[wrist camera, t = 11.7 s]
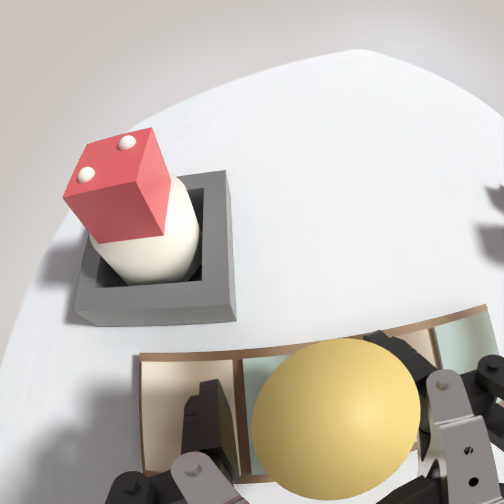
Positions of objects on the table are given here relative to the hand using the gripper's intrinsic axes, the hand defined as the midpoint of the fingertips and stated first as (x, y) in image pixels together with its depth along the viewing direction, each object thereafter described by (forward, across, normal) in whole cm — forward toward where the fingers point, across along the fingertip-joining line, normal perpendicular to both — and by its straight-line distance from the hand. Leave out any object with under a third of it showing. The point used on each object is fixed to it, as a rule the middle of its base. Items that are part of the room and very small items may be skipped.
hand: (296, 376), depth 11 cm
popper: (+11, +6, -4) cm, 13 cm away
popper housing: (+11, +6, -4) cm, 13 cm away
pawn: (+2, 0, +4) cm, 5 cm away
